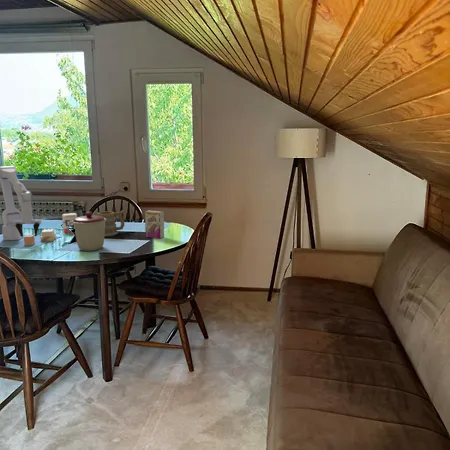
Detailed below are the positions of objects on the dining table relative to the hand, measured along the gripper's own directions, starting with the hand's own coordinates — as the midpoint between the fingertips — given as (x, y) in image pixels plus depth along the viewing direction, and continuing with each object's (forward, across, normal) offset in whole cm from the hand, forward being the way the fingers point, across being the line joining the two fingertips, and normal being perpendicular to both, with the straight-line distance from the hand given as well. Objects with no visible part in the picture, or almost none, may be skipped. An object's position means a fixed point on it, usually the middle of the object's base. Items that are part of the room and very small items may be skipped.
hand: (28, 236), depth 245 cm
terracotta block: (+5, 0, 0) cm, 5 cm away
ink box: (+5, +17, +31) cm, 36 cm away
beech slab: (+5, +8, +10) cm, 14 cm away
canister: (+5, +37, -16) cm, 41 cm away
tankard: (+5, +45, +21) cm, 50 cm away
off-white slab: (+2, +8, +10) cm, 13 cm away
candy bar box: (+5, +72, +6) cm, 72 cm away
